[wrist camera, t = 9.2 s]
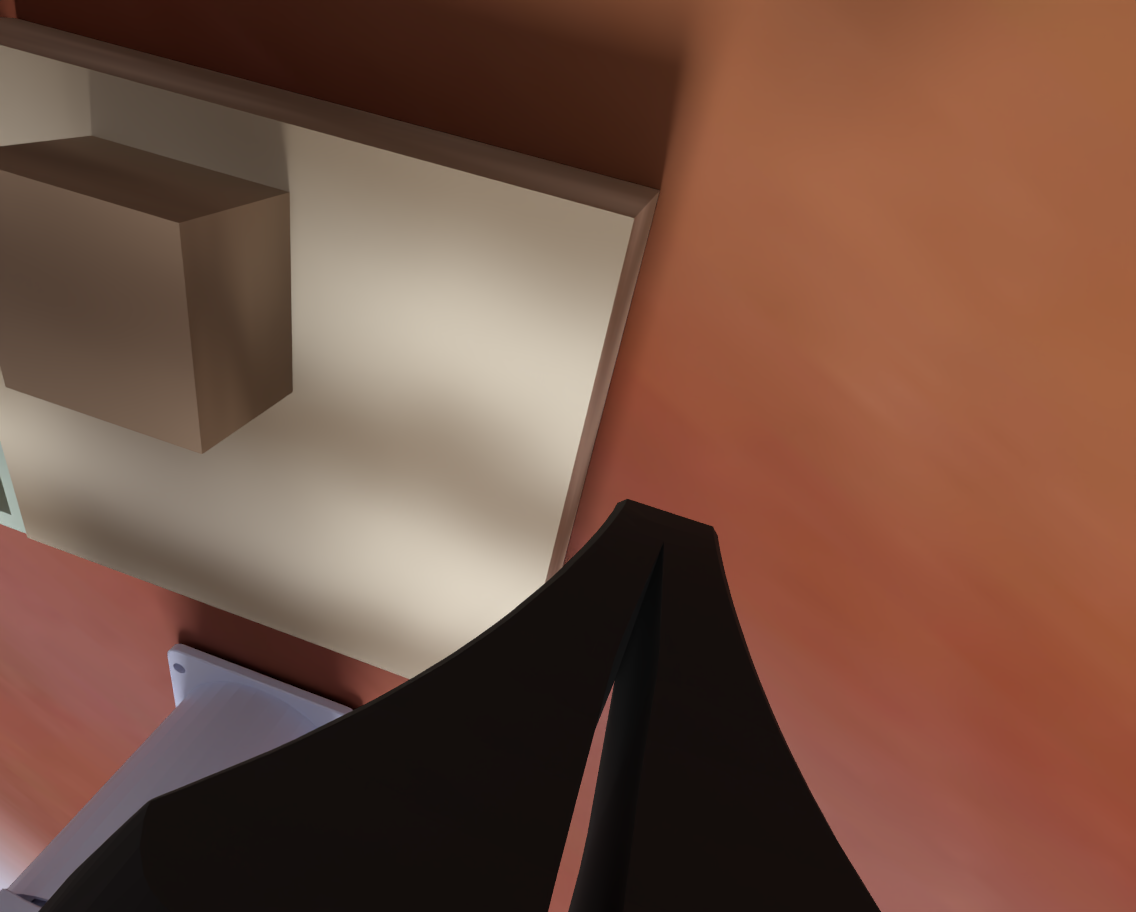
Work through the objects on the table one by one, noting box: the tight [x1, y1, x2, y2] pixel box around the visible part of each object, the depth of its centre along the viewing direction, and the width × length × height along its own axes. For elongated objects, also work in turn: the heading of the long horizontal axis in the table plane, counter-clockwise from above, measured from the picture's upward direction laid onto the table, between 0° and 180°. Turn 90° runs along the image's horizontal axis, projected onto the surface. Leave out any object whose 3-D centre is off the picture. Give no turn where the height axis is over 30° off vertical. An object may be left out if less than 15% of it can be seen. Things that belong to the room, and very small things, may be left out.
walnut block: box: [0, 135, 293, 454], centre depth 14 cm, size 4×4×3 cm
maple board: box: [0, 17, 660, 679], centre depth 18 cm, size 14×16×3 cm
